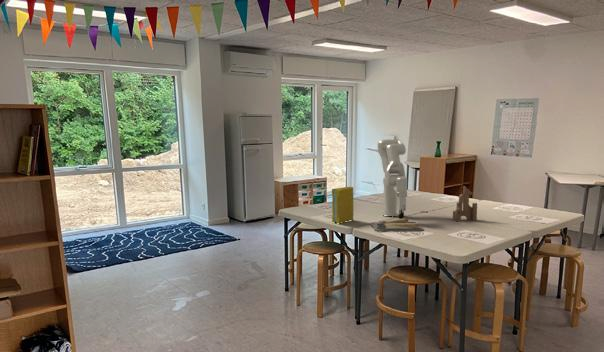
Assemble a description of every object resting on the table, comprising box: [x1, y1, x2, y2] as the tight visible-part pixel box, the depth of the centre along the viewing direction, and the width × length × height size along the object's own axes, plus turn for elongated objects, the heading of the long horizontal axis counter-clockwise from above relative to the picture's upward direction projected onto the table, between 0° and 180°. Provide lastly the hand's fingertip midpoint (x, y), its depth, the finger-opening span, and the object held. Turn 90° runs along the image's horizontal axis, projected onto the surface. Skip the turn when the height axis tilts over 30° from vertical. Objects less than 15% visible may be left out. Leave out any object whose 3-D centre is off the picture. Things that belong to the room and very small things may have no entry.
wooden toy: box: [452, 185, 478, 222], centre depth 295 cm, size 16×7×25 cm, turn 90°
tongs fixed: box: [377, 222, 420, 230], centre depth 273 cm, size 5×27×4 cm, turn 90°
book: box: [331, 186, 354, 224], centre depth 298 cm, size 17×7×25 cm, turn 126°
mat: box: [370, 221, 425, 232], centre depth 280 cm, size 22×32×1 cm
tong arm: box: [377, 217, 409, 225], centre depth 280 cm, size 6×27×4 cm, turn 118°
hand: (401, 219), depth 294 cm, fingers closed
